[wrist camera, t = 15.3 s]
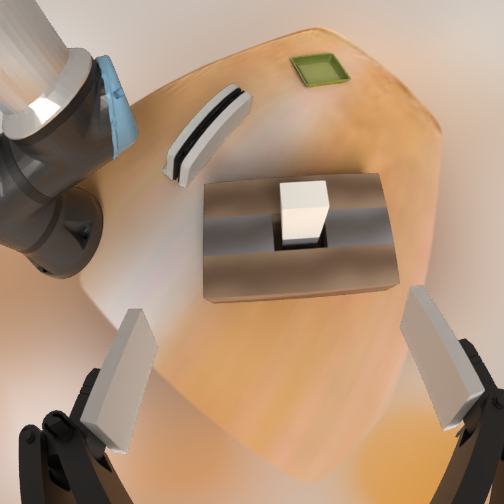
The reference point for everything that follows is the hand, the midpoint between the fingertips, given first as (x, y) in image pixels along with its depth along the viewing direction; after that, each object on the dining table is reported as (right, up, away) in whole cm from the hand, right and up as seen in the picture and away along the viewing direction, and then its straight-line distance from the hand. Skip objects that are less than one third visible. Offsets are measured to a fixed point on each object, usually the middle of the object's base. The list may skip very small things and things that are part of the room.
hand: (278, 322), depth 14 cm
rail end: (+4, +5, +24) cm, 24 cm away
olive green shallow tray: (+11, +36, +34) cm, 50 cm away
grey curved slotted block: (-7, +20, +31) cm, 37 cm away
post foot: (+5, +4, +24) cm, 25 cm away
